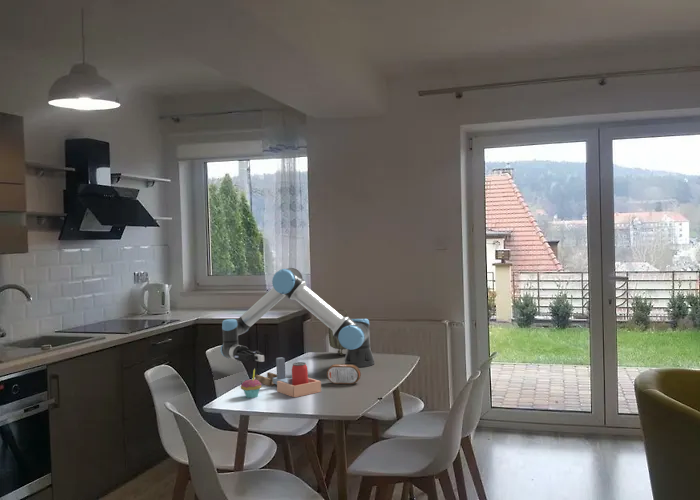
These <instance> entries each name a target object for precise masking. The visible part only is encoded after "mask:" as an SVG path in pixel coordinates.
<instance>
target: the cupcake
mask: <svg viewBox="0 0 700 500" xmlns="http://www.w3.org/2000/svg"><path fill="white" fill-rule="evenodd" d="M252 371H253V373H252V379H251V378H250V379H246V380H244V381H243V382H242V383H241V385H240V389H241V390H243V392H244V394H245V398H247V399H253V398H257V397H258V396H259V393H260V390H261V388H262V385H263V384H262V383H261V382H260V381H258V380H256V379H255V375H256V368H255V367H254V369H252Z"/></svg>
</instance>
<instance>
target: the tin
mask: <svg viewBox="0 0 700 500" xmlns="http://www.w3.org/2000/svg"><path fill="white" fill-rule="evenodd" d="M361 375H362V373H361V370H360V367H357V366H355V365H347V364H344V363H337V364H336V363H335V364H332V365H331V366H329V368H327V371H326V378H327V380H328V381H329V382H330V383H332V384H335V385H353V384H357V383H358V381H360V379H361Z"/></svg>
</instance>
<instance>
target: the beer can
mask: <svg viewBox="0 0 700 500" xmlns="http://www.w3.org/2000/svg"><path fill="white" fill-rule="evenodd" d="M291 378H292V385H294V386H296V385H301V384H306V383H308V378H309V374H308V366H307V363H306V362H304V361H303V362H301V361H299V362H298V361H297V362H294V363H293V364H292V366H291Z"/></svg>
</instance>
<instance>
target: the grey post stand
mask: <svg viewBox="0 0 700 500" xmlns="http://www.w3.org/2000/svg"><path fill="white" fill-rule="evenodd" d="M275 363H276V364H275V368H276V374H277V377H275V378H272V379H273V384H276V385H275V386H277V381H281V382H285V383H288V384H291V385H292V377H291V378H288V377H286V358H285V357H276V358H275Z"/></svg>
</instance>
